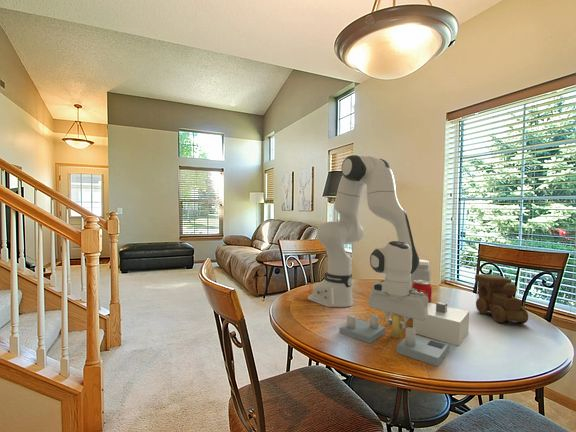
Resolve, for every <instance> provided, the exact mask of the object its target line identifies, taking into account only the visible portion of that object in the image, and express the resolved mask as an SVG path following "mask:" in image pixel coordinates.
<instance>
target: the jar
mask: <svg viewBox="0 0 576 432" xmlns="http://www.w3.org/2000/svg"><path fill="white" fill-rule="evenodd" d="M431 275H432V274H431V269H430V261H429V260H426V259H420V258H419V266H418V268H417V269H416V270H415V271H414V272H413V273H412V274H410V276H411V290H412V284H413V282H414V280H424V281H428V282H430V283H431Z"/></svg>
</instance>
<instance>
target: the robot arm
mask: <svg viewBox="0 0 576 432" xmlns="http://www.w3.org/2000/svg"><path fill="white" fill-rule="evenodd" d="M341 174H342V176H341V177H340V181H339V183H338V187H337V192H336V196H335V201H334V205H333V206H334V207H333V208H334V210H335V211H336V212H337V213H338V214H339V215H338V217H339V221H326V222H323V223H320V224H319V225H318V227H317V229H316V238H317V240H318V241H319V243H321V245H322V246H323V247H324V249H325V251H326V252H325V253H326V256H327V272H325V273H323V274H322V276H323V277H324V278H323V280H322V281H319V283H317V284H315V285H314V286H313V289H312V294H309V295H308V296H307V300H309V301H311V302H314V303H316V304H319V305H322V306H324V307H327V308H334V307H335V308H347V307H351V306H353V305H354V304H355V303H354V299H353V292H352V283H353V273H352V257H351V255H350V254H349V253H347V252H346V249H345V245H351V244H355V243H357V242H360V241H361V240H362V239H363V237H364V233H365V232H364V227H363V226H362V224H361V223H360V220H359V207H360V203H361V198H362V193H363V188H364V186H365V185H366V195H367V197H366V198H367V205H368V206H367V207H368V210H369V211H370V212H371V213H372V214H374V215H375V216H376V217H379V218H381V219H383V220H386V221H387V222H389V223H390V224H392V225H393V227H394V229H395V231H396V235H397V236H396V237H397V240H393V241H389V242H387V244H386V245H385V246H382V247H379V248H375V249H374V250H373V251H372V252H371V254H370V257H369V263H370V267H371V268H372V270H373V271H374V272H375V273H379V274H384V275H385V276H384V280H379V281H375V282H374V283H372V284H371V288H370V289H371V291H370V292H369V297H368V306H369V308H371V309H374V310H377V311H382V312H384V316H385V317H386V319H387V325H389V326H392V316H391V315H392V313H393V314H396V315H400V316H401V317H402V319H403V321H401V322H400V328H401V329H403V330H405V329H406V326H407V325H406V324H407V322H409V320H410V319H412V320H413V319H416V320H420V321H424V320H426V319H427V317H428V307H427V305H428V300H429V299H428V297H427V295H425V294H424V293H422V292H417V291H413V290H411V274H412V273H413V272H414V271H415V270H416V269H417V268H418V266H419V259H420V257H419V254H418V252H417V249H416V246H415V243H414V238H413V235H412V234H413V233H412V230H411V226H410V222H409V217H408V215H407V212H406V209H405V208H404V207H402V206H401V204H400V203H399V199H398V197H397V187H396V182H395V176H394V174H393V171H392V168H391V164H390V163H389V162H388V161H386V160H385V159H383V158H377V157H374V156H364V155H357V154H355V155H354V154H351V155H348V156H347V157H345V158H344V159H343V161H342V164H341ZM424 295H425V296H424Z"/></svg>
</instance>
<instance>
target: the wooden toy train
mask: <svg viewBox="0 0 576 432" xmlns="http://www.w3.org/2000/svg"><path fill="white" fill-rule="evenodd" d="M474 281H476V282H477V293H478V298H477V299H476V301H475V306H476V307H475V308H476V309H477V311H478V312H479V313H480V314H482V315H486V314H487V313H488V312H490V313H491V315H492V318H493V320H494V321H495V322H496V323H497V324H498V323H499V324H503V323H505V322H506V321H507V322H517V323H519V324H521V323H522V324H525V323H527V322H528V320H529V314H528V310H527V309H526V308H525V307H524V306H522V300H521V299H519V298H517V297H515V296H514V295H515V294H516V292H517V290H518V289H517V287H516V285H515V284H513V283H512V279H510V278H508V277H504V276H501V275H498V274H497V275H496V274H489V273H488V274H487V273H485V274H484V273H481V274H475V275H474Z"/></svg>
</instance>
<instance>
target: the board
mask: <svg viewBox="0 0 576 432" xmlns="http://www.w3.org/2000/svg"><path fill="white" fill-rule="evenodd" d="M346 319H347V320H346V323H345V324H344V325H341V326H340V327H339V331H338V332H339V334H341V335H345V336H347V337H350V338H353V339H356V340H359V341H362V342H364V343H367V344H371V343H374V342H375V341H376V340H377V339H379V338H380V337H381V336H383V335H384V334H386V327H385V326H381V325H379V319H380V318H379V316H378V315H376V314H370V315H369V321H365V320H361V319H357V318H356V316H355V315H354V314H348V315H347V316H346Z"/></svg>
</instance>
